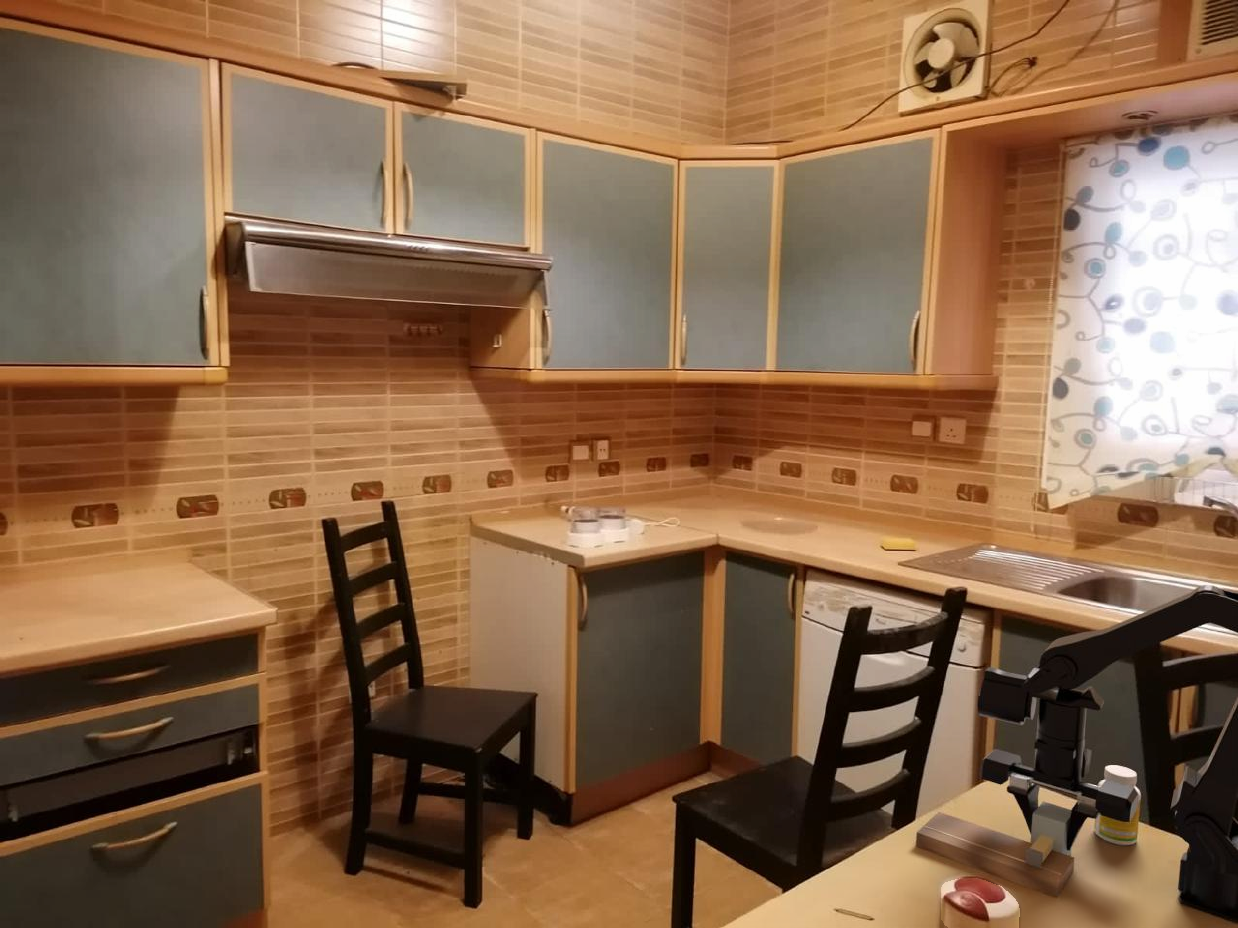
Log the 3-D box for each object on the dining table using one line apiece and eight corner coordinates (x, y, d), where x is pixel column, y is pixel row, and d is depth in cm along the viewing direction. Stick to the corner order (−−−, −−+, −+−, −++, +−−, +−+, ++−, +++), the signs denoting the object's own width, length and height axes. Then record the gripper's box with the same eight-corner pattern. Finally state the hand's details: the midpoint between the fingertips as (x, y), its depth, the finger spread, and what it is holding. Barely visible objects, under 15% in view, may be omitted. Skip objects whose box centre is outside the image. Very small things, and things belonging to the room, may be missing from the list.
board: (1073, 871, 118) (1074, 856, 118) (1056, 897, 112) (1057, 881, 112) (937, 824, 130) (938, 811, 130) (915, 845, 124) (916, 831, 123)
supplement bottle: (1145, 846, 125) (1151, 779, 124) (1106, 845, 125) (1111, 778, 124) (1124, 827, 131) (1129, 763, 130) (1086, 826, 131) (1092, 761, 130)
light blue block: (1070, 852, 123) (1074, 810, 122) (1048, 885, 114) (1051, 840, 114) (1039, 842, 126) (1043, 801, 125) (1015, 873, 117) (1018, 829, 116)
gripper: (1151, 734, 121) (1141, 845, 123) (1007, 699, 133) (999, 800, 135) (1134, 760, 113) (1123, 878, 114) (981, 720, 124) (974, 827, 126)
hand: (1051, 843), depth 122 cm, fingers closed on light blue block, 4 cm apart
